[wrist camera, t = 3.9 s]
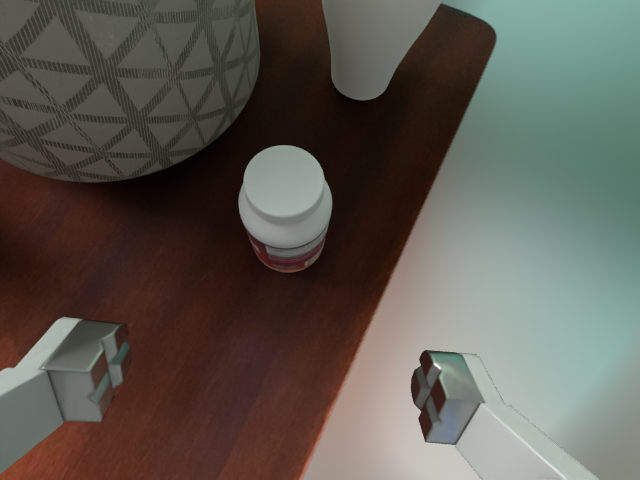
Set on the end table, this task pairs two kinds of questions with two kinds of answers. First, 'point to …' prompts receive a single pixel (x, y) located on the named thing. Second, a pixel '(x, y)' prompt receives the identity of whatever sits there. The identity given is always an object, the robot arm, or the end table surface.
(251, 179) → the pill bottle
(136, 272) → the end table surface
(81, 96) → the planter
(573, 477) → the robot arm
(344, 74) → the cup
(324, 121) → the end table surface
